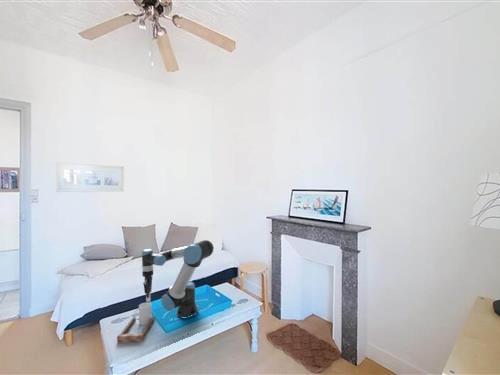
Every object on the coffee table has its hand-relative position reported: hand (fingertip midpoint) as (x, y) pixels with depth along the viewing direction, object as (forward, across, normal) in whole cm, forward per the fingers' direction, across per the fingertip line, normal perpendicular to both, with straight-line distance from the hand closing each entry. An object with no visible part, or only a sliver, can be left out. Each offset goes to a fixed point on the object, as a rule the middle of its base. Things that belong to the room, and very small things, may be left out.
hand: (148, 300), depth 191 cm
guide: (+9, +21, 0) cm, 23 cm away
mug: (+9, +12, 0) cm, 15 cm away
